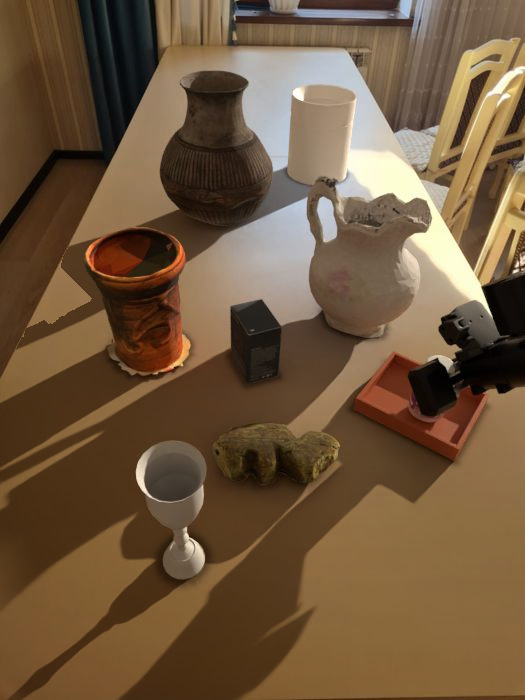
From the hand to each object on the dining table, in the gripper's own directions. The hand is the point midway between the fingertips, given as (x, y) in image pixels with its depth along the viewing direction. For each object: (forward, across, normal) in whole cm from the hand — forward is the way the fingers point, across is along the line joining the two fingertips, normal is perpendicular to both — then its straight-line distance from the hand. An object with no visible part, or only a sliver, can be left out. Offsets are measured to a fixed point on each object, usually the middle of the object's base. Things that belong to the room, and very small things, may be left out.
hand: (429, 373), depth 78 cm
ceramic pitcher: (+22, -6, -12) cm, 26 cm away
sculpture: (+8, +24, +4) cm, 26 cm away
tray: (+6, -1, +5) cm, 8 cm away
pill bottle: (+4, 0, +6) cm, 7 cm away
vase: (+53, -1, -43) cm, 68 cm away
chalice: (+3, +41, +8) cm, 42 cm away
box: (+20, +17, -10) cm, 28 cm away
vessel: (+28, +30, -18) cm, 45 cm away
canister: (+60, -36, -50) cm, 86 cm away
